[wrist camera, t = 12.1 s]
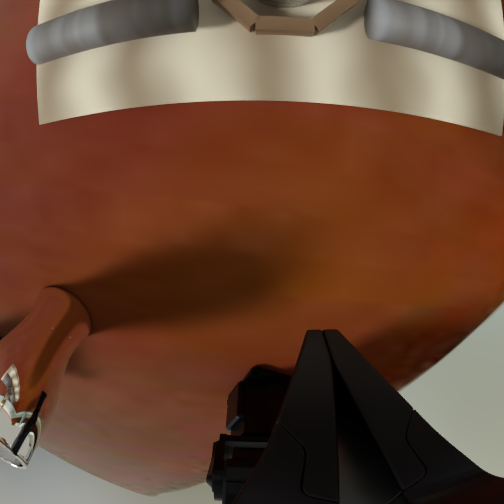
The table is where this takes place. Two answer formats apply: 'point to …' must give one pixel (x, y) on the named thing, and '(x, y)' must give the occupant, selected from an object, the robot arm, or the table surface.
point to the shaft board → (273, 55)
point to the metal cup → (284, 3)
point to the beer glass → (36, 370)
